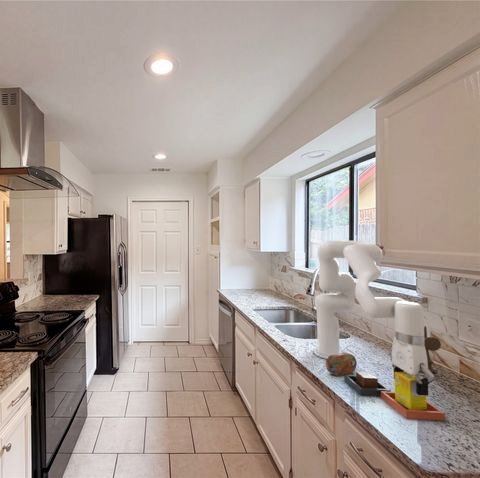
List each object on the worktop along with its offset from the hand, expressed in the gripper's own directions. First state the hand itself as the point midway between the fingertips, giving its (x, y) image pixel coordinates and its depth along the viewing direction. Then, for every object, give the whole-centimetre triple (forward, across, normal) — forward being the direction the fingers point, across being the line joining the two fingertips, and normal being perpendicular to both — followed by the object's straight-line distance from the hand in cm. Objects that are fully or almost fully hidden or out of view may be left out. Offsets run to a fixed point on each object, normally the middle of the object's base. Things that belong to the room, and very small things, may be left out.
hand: (410, 386), depth 92 cm
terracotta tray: (+7, 0, 0) cm, 7 cm away
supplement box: (+7, 0, 0) cm, 7 cm away
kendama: (+8, -30, +29) cm, 42 cm away
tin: (+8, -24, -10) cm, 27 cm away
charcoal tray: (+8, -12, -7) cm, 16 cm away
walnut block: (+7, -12, -7) cm, 15 cm away
